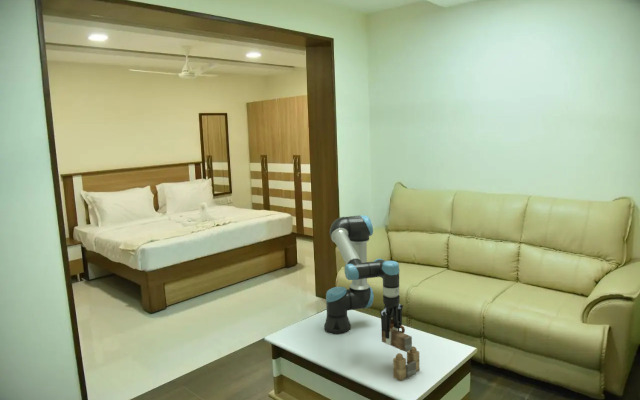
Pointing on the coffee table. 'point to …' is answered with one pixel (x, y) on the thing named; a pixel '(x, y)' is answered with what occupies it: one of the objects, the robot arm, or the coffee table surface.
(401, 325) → the mug
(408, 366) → the knobbed wooden twin blocks
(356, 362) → the coffee table surface
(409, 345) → the rail
